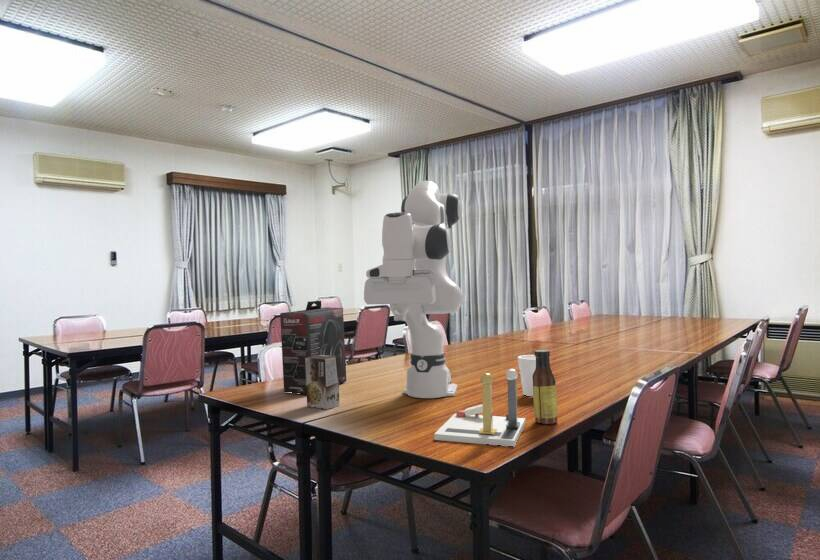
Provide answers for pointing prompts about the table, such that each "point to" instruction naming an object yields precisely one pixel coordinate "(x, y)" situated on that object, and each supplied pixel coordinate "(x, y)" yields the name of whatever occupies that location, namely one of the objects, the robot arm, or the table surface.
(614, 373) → the table surface
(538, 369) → the sauce bottle
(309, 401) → the coffee box
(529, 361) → the foam cup
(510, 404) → the graphite lever
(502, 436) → the panel
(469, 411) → the block
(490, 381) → the brass lever
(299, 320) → the headset box
